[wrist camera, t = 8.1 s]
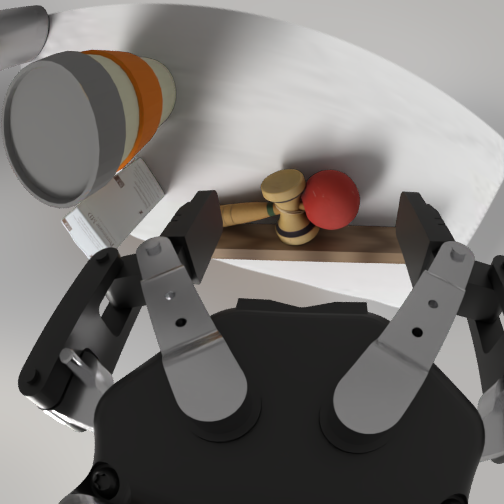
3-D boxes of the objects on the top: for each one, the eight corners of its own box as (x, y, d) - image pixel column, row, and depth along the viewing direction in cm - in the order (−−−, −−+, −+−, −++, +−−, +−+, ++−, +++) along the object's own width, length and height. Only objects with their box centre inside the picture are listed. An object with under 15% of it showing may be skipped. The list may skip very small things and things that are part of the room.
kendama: (227, 236, 39) (365, 221, 30) (203, 260, 34) (363, 248, 25) (208, 181, 36) (354, 154, 27) (180, 198, 31) (350, 167, 22)
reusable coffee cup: (182, 154, 31) (107, 229, 19) (96, 136, 31) (10, 194, 19) (202, 47, 23) (109, 51, 11) (103, 42, 22) (-3, 64, 11)
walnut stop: (218, 233, 37) (206, 258, 33) (216, 224, 36) (203, 248, 32) (408, 237, 31) (418, 263, 28) (411, 227, 31) (421, 253, 27)
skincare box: (167, 194, 34) (116, 255, 25) (143, 207, 36) (93, 266, 27) (140, 154, 31) (77, 205, 22) (118, 170, 33) (58, 222, 24)
